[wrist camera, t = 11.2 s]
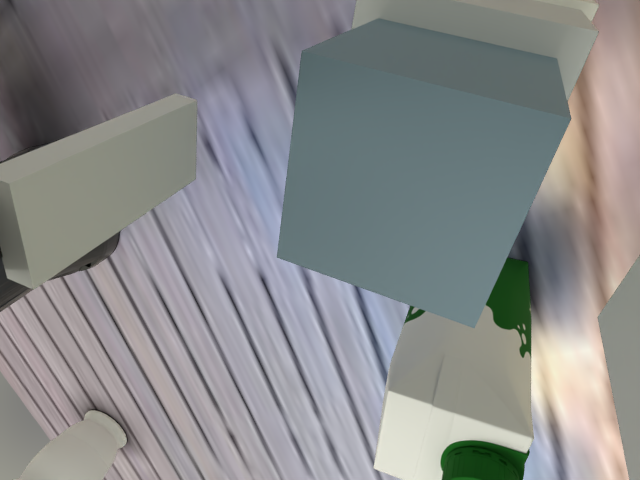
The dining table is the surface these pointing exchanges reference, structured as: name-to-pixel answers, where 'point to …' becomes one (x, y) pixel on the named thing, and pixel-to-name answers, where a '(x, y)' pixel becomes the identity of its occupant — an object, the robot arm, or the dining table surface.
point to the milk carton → (462, 391)
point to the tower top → (498, 26)
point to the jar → (79, 451)
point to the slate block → (417, 162)
